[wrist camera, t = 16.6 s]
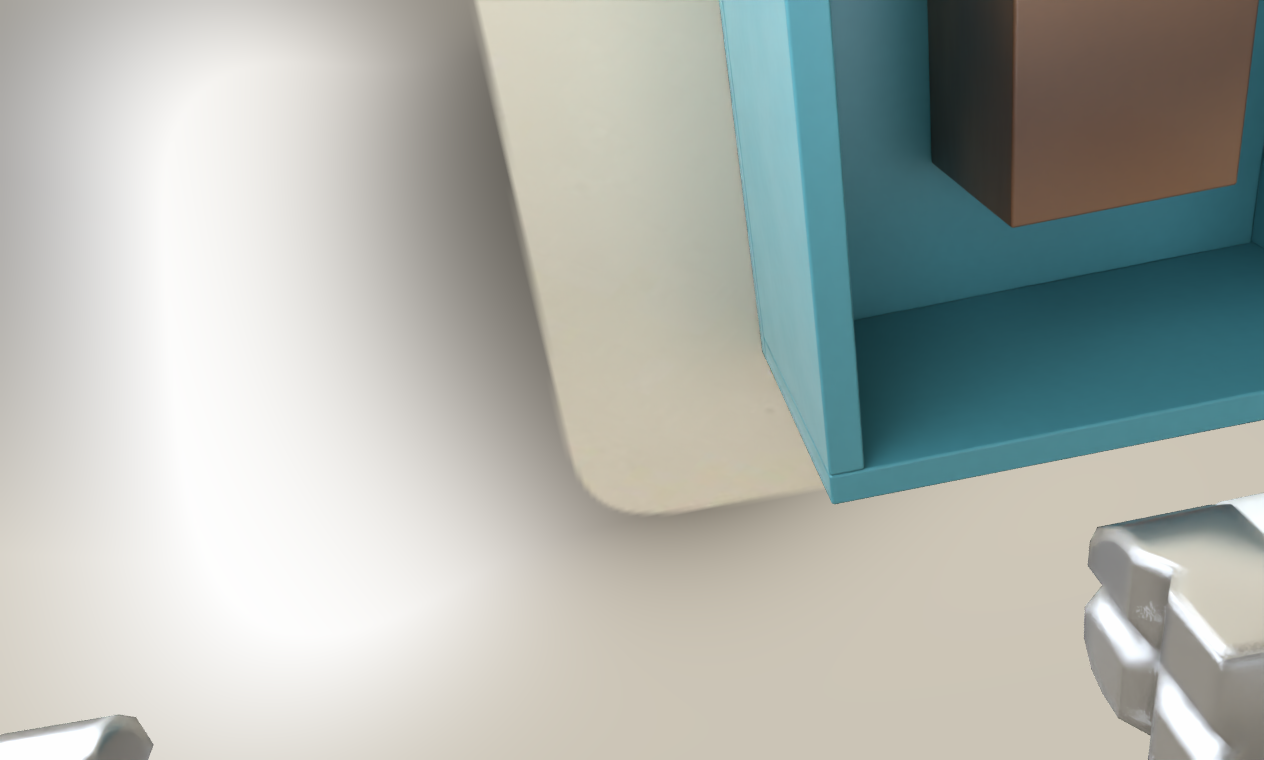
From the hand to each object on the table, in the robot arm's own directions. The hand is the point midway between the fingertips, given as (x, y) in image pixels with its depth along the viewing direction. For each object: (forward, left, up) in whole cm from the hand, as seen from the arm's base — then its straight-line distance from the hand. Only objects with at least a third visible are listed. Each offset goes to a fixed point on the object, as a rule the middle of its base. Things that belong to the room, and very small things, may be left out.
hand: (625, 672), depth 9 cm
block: (-1, -12, -19) cm, 22 cm away
